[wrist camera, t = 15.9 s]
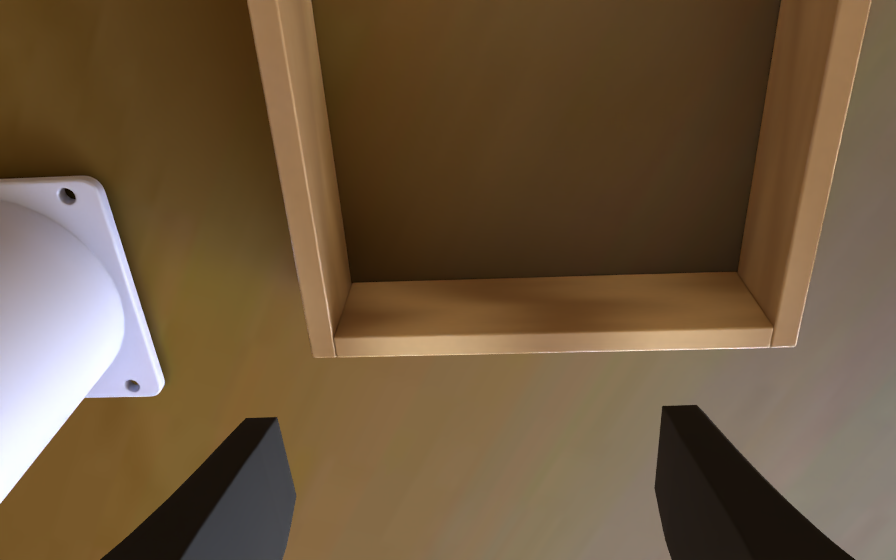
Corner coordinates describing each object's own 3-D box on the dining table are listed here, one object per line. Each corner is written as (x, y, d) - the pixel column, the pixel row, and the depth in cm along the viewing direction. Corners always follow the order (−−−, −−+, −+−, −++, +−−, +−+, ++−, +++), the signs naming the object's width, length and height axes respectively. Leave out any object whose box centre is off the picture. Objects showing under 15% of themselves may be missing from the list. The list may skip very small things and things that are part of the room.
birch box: (333, 301, 23) (312, 358, 20) (254, -194, 16) (206, -213, 13) (756, 289, 22) (796, 347, 19) (850, -240, 15) (932, -269, 13)
